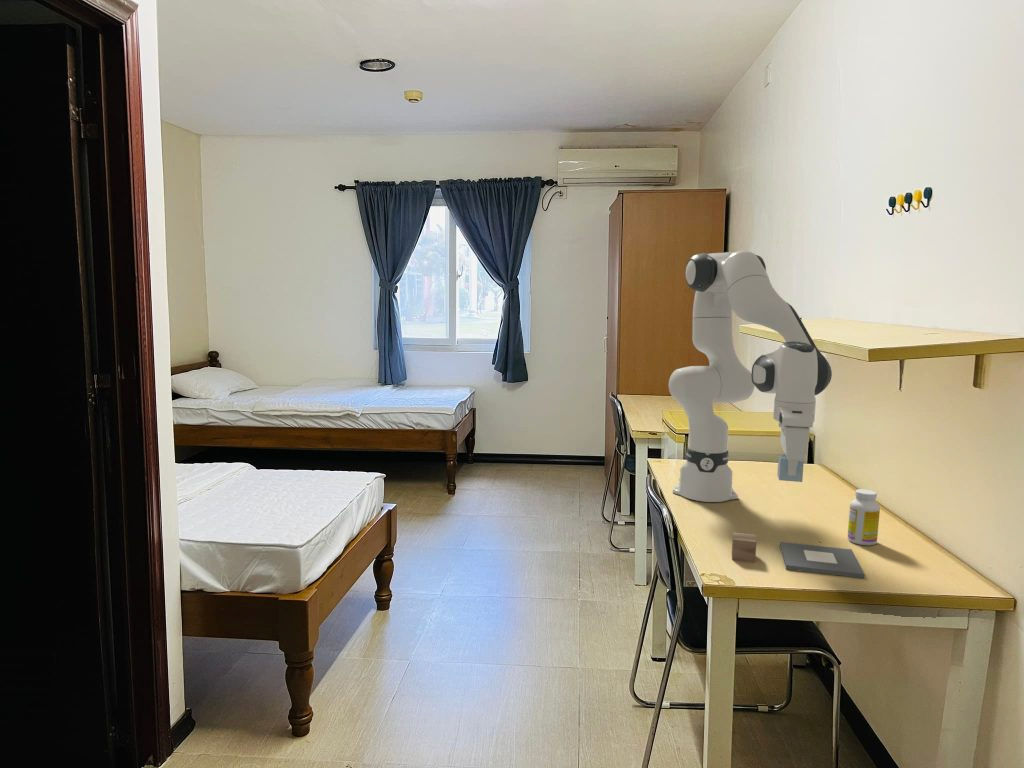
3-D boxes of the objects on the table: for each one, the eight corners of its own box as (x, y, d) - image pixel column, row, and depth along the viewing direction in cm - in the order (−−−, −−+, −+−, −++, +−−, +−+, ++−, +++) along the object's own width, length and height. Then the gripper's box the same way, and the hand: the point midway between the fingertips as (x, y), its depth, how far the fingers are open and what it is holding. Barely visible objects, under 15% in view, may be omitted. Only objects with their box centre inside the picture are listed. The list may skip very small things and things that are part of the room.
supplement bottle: (880, 541, 178) (885, 492, 176) (871, 548, 174) (876, 497, 172) (852, 534, 183) (857, 486, 181) (842, 541, 178) (847, 491, 176)
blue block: (777, 474, 170) (778, 454, 169) (799, 476, 169) (801, 455, 168) (779, 480, 165) (780, 459, 165) (802, 482, 164) (803, 460, 163)
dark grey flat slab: (779, 545, 174) (780, 541, 174) (851, 553, 170) (851, 549, 170) (786, 569, 160) (786, 564, 160) (864, 578, 156) (864, 573, 156)
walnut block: (731, 552, 170) (732, 532, 169) (753, 555, 168) (755, 534, 168) (732, 560, 165) (733, 539, 164) (754, 562, 164) (756, 542, 163)
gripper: (776, 405, 176) (772, 460, 177) (783, 419, 156) (779, 481, 158) (803, 406, 174) (799, 462, 176) (814, 421, 154) (809, 483, 156)
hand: (790, 471), depth 167 cm, fingers closed on blue block, 5 cm apart
